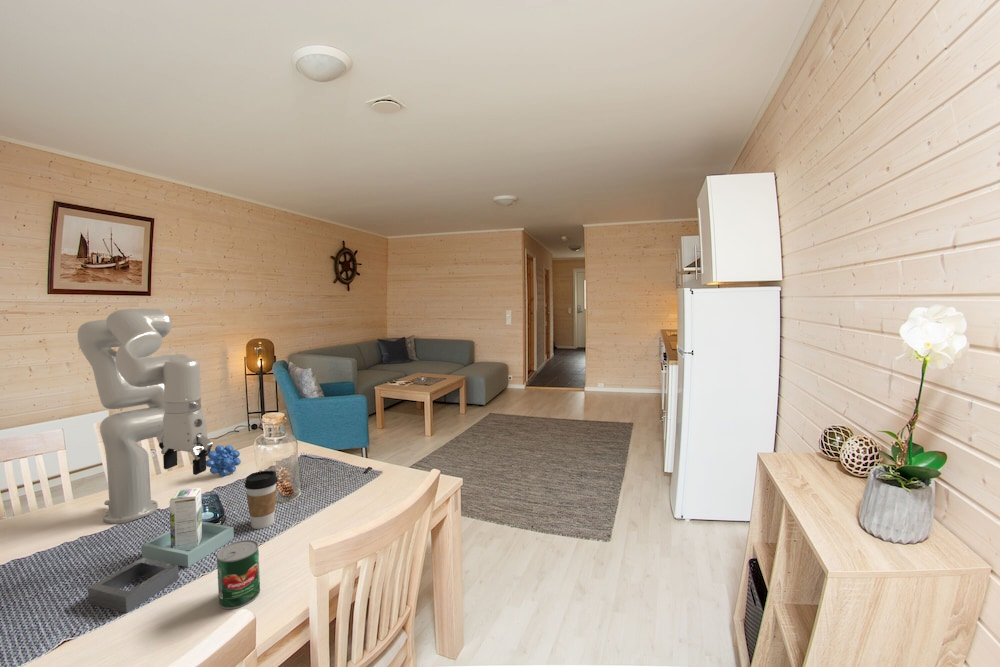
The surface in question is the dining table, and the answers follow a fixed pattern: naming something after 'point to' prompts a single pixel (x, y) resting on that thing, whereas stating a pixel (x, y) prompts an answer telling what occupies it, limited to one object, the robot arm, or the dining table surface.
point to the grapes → (223, 460)
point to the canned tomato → (238, 574)
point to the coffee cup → (261, 498)
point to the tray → (210, 542)
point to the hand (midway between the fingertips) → (185, 469)
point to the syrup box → (186, 519)
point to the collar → (125, 601)
